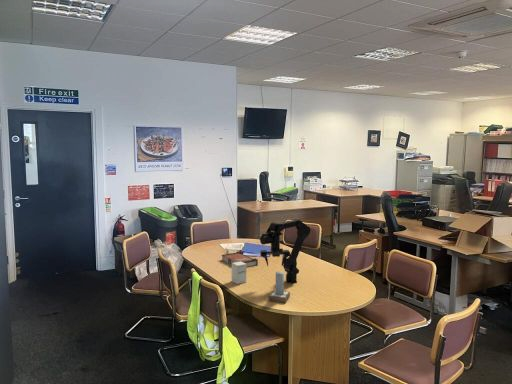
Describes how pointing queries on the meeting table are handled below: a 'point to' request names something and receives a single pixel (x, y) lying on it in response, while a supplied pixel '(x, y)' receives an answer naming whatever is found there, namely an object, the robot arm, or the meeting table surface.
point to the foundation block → (279, 297)
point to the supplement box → (238, 272)
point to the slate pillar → (279, 283)
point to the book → (239, 259)
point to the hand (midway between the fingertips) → (274, 266)
